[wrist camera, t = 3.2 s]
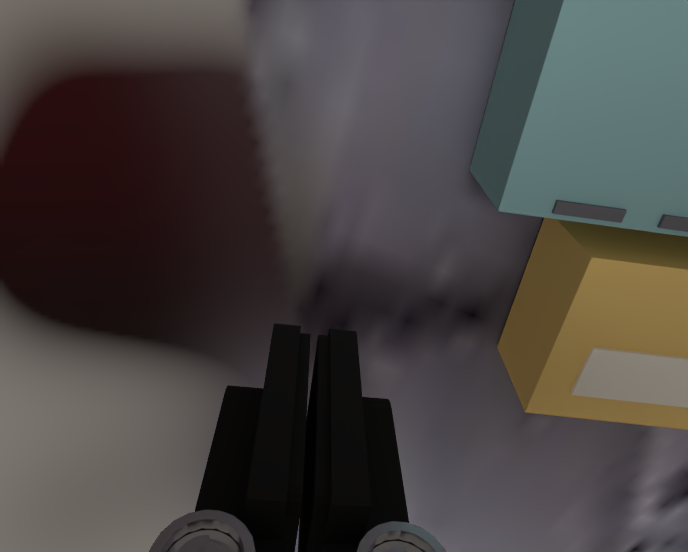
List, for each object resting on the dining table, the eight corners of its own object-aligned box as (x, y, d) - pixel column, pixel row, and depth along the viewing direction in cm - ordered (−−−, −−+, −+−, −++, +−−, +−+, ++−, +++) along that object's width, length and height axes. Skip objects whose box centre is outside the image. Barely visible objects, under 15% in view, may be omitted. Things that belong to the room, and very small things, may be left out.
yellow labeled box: (743, 235, 15) (831, 290, 12) (666, 366, 17) (725, 436, 15) (547, 209, 14) (593, 259, 12) (497, 347, 17) (526, 414, 14)
